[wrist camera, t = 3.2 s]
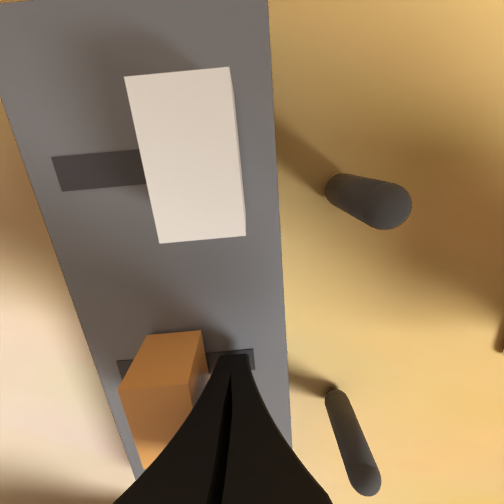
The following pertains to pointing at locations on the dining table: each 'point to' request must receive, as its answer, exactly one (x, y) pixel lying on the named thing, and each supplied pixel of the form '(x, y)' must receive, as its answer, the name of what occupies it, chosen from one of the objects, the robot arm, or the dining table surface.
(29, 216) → the dining table surface
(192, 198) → the paddle
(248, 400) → the robot arm
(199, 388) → the orange block
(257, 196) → the breaker panel
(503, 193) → the dining table surface
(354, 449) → the cord posts
